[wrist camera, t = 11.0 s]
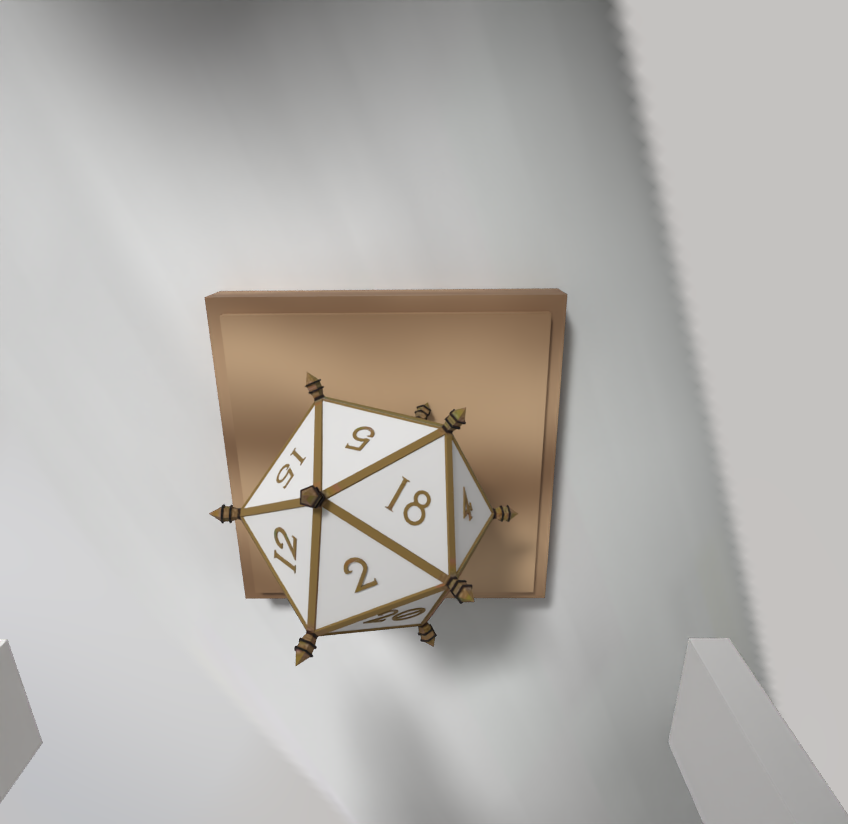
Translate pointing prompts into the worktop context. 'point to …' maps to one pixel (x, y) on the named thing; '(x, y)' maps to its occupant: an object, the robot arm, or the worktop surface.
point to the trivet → (403, 397)
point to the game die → (367, 518)
